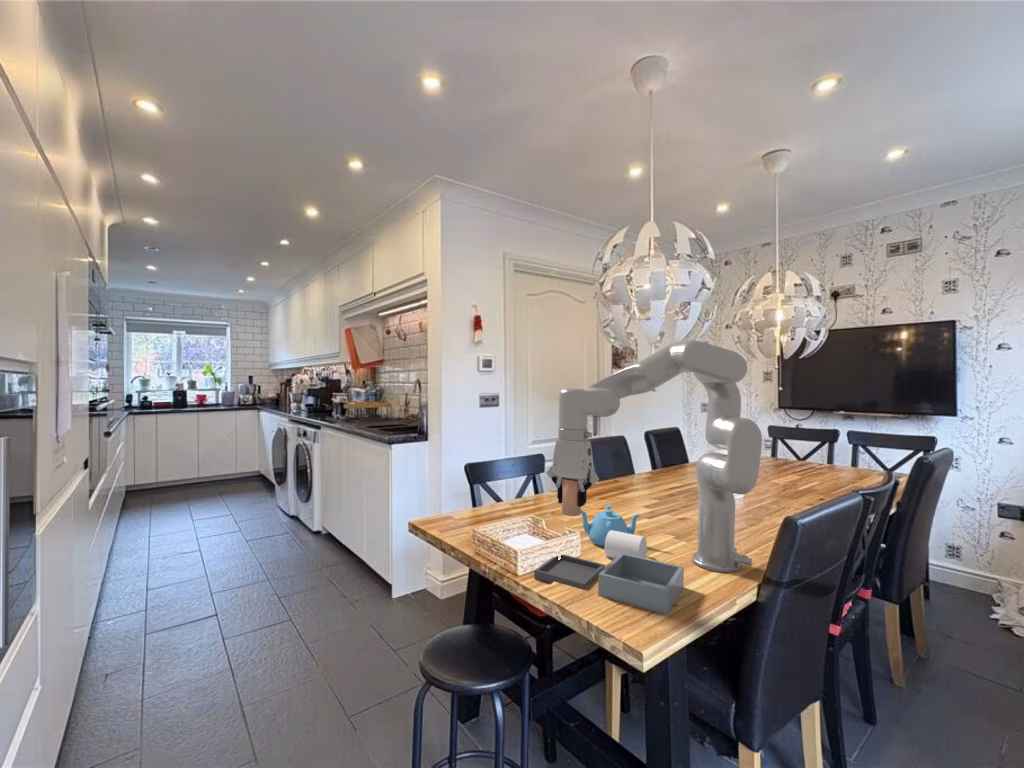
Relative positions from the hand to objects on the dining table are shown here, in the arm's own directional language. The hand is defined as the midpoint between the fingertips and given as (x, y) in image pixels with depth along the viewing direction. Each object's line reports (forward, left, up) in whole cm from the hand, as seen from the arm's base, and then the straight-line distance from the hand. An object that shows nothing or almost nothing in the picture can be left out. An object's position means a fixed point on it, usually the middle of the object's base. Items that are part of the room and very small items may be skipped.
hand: (571, 503), depth 120 cm
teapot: (+1, -31, -20) cm, 37 cm away
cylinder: (0, 0, -3) cm, 3 cm away
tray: (0, 0, -19) cm, 19 cm away
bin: (-19, 0, -19) cm, 27 cm away
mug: (-9, -20, -20) cm, 29 cm away
